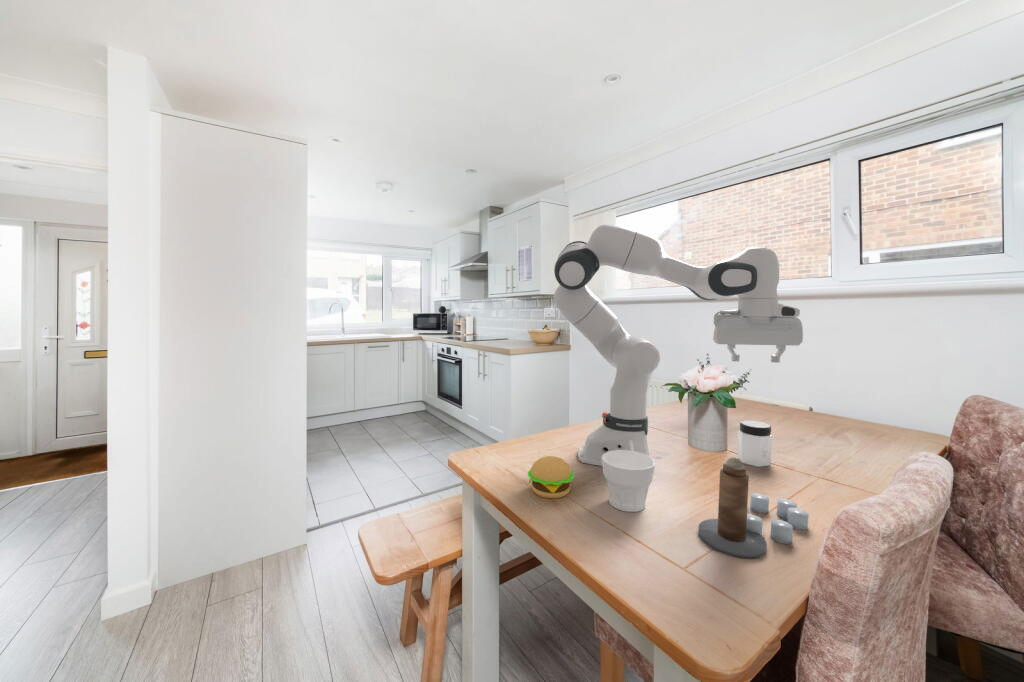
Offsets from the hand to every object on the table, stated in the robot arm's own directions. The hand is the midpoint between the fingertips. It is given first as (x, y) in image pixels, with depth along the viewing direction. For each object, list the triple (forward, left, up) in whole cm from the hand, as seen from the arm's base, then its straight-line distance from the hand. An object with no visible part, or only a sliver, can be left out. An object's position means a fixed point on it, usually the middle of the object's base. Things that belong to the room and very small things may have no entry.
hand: (755, 361), depth 101 cm
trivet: (-13, -31, -33) cm, 47 cm away
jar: (+6, +16, -33) cm, 37 cm away
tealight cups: (-3, -22, -33) cm, 40 cm away
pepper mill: (-13, -31, -32) cm, 46 cm away
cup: (-33, -21, -33) cm, 51 cm away
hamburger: (-52, -19, -33) cm, 65 cm away
